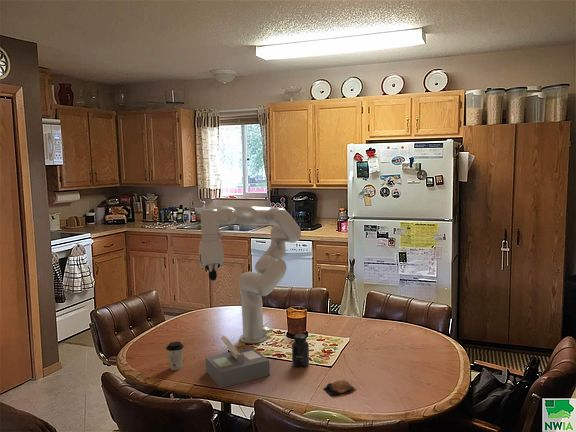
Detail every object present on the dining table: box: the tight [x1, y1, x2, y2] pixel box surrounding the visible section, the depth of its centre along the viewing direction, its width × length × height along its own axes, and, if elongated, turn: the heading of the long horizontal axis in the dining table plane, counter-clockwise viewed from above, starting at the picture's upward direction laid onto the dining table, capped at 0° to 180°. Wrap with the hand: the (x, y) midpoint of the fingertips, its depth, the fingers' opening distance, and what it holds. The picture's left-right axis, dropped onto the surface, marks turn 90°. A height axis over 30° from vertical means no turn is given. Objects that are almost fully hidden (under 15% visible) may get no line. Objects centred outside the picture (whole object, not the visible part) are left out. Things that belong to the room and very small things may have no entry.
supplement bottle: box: [291, 333, 310, 368], centre depth 196 cm, size 7×7×12 cm
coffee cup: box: [165, 341, 184, 371], centre depth 197 cm, size 7×7×10 cm
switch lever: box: [220, 335, 240, 359], centre depth 188 cm, size 2×5×10 cm
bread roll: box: [322, 379, 358, 398], centre depth 174 cm, size 11×8×4 cm
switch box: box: [205, 346, 271, 389], centre depth 189 cm, size 20×16×9 cm
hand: (212, 279), depth 210 cm, fingers closed
